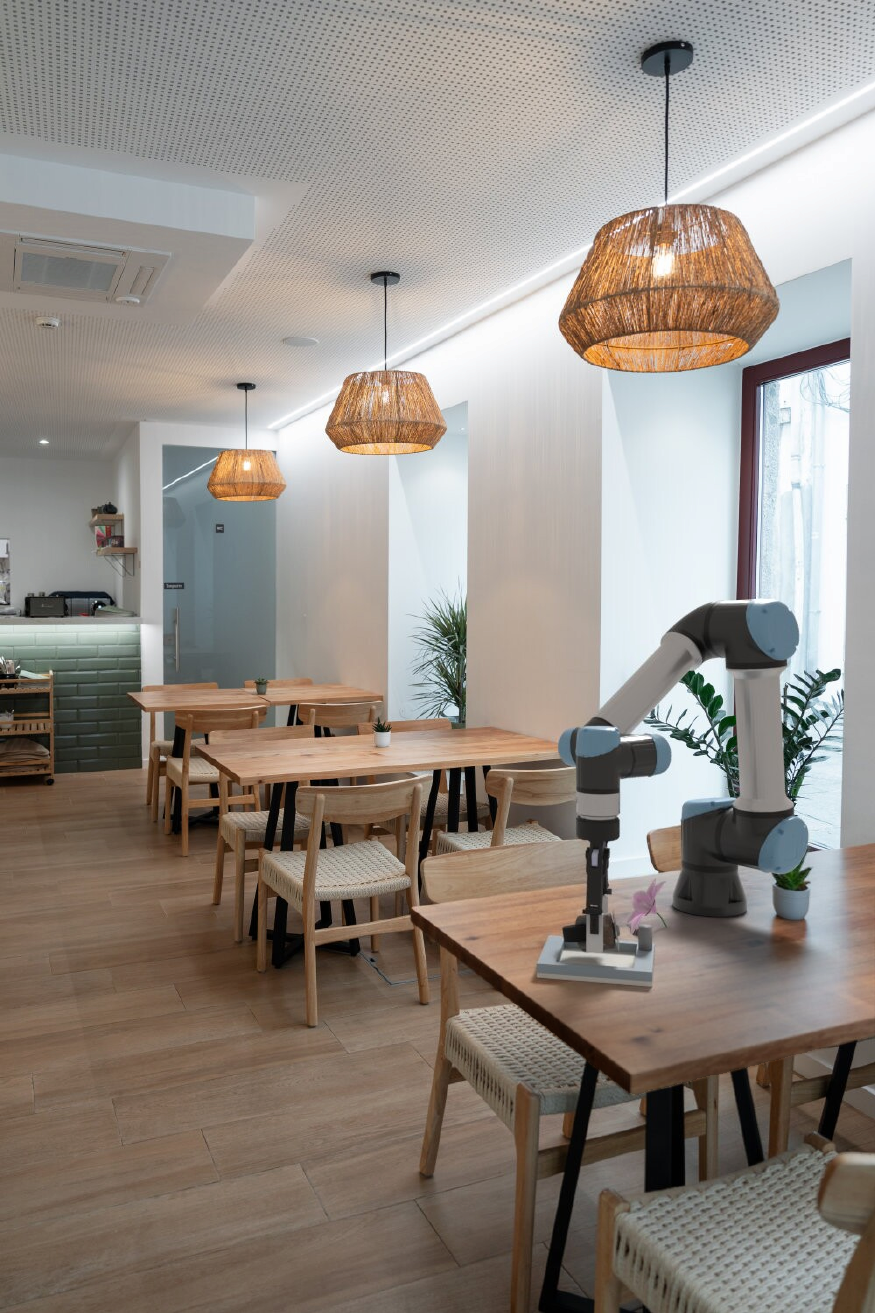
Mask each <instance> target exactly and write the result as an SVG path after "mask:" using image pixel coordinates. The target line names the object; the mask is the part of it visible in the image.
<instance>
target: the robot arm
mask: <svg viewBox="0 0 875 1313" xmlns="http://www.w3.org/2000/svg"><path fill="white" fill-rule="evenodd" d="M659 644H660V646H658V648H656V650H655V651H653V653H652V654H651V655H650V656H649V657H648V658H647V659H646V660H645V662H643V664H641V666H639V668H638V669H636V671H635V672H634V673H633V674H632V675H631V676H630V677H629V678H628V679H627V680H626V681H625V682H624V684H623V685H622V686H621V687H619V688H618V690H617V691H616V692H615V693H614V694H613V695H612V696H611V697H610V698H609V699H608V700H607V701H606V702H605V703H604V704H603V706H601V707H600V709H598V711H596V713H595V714H594V715H593V716H592V717H591V718H590V719H589V720H588V721H587V722H586V723H585V724H584V725H583V726H582V727H580V726H579V727H578V726H577V727H571V728H568V729H566V730H564V731H563V732H562V733H561V735H560V737H559V740H558V743H557V744H558V745H557V751H558V755H559V757H560V759H561V761H562V762H563V763H564V764H566V765H567V766H569V767H574V768H575V776H576V778H575V780H576V781H575V783H576V785H575V787H576V788H575V789H576V795H573V796H572V800H573V801H574V802H577V803H575V804H576V813H577V814H578V816H577V817H576V818H575V836H576V838H578V839H579V840H582V841H588V842H589V846H587V847H586V850H585V856H584V857H585V861H586V863H585V872H586V894H585V895H586V898H585V900H586V901H585V908H582V910H581V911H582V913H581V914H582V915H587V934H586V952H594V953H603V913H609V896H611V895H612V892H613V890H612V888H609V887H610V884H609V866H610V857H611V856H610V855H611V848H610V847H608V844H609V842H614V841H617V840H619V838H620V837H621V836H620V835H621V832H620V831H621V820H620V818H619V817H618V816H620V814H621V780H625V779H634V778H644V777H648V778H651V777H653V776H654V777H655V776H657V775H661V774H663V773H665V772H666V771H667V770H668V769H669V768H670V766H671V763H672V756H673V754H672V748H671V746H670V744H669V741H668V740H666V738H665V737H664V736H662V735H660V734H657V733H647V732H645V733H643V734H634V733H633V732H634V731H635V730H636V728H638V726H639V725H640V724H641V723H642V722H643V721H644V720H645V719H646V718H647V716H648V715H650V714H651V713H652V711H653V710H655V708H656V707H657V706H658V705H659V704H660V703H661V701H662V700H663V699H664V698H666V696H667V695H668V694H669V693H670V692H671V691H672V690H673V688H674V687H676V685H677V684H678V683H679V682H680V681H681V680H682V679H683V677H684V676H686V674H687V673H688V672H689V671H691V672H692V671H696V670H698V669H699V668H700V667H701V665H703V663H706V662H707V661H709V660H712V659H717V658H718V659H719V658H720V659H724V661H725V670H726V671H727V672H728V673H729V674H730V675H731V676H732V677H733V678H734V679H733V681H734V699H735V700H734V701H735V702H734V703H735V718H736V719H735V720H736V739H737V740H736V742H737V756H738V757H737V758H738V780H739V781H738V783H739V796H738V797H737V798H735V797H729V796H728V797H727V796H725V797H724V796H722V797H705V798H695V799H690V800H687V801H685V802H684V804H683V805H682V807H681V818H680V852H681V853H680V856H681V857H680V858H681V864H680V865H681V866H680V869H681V870H680V873H679V874H678V875H679V876H678V878H677V881H676V883H675V884H676V885H675V887H674V890H673V894H672V906H673V908H675V909H676V910H678V911H680V912H684V913H686V914H691V915H696V916H703V917H717V918H718V917H721V918H723V917H735V916H738V915H743V914H744V913H746V912H747V909H748V901H747V896H746V893H745V888H744V886H743V883H742V879H741V877H740V874H739V867H740V866H741V867H744V868H749V869H753V870H757V871H761V872H762V873H767V874H769V873H772V874H777V875H784V874H789V873H790V872H792V871H793V870H795V869H797V867H798V866H799V865H800V863H801V861H802V860H803V858H804V856H805V854H806V852H807V849H808V845H809V828H808V825H806V823H805V820H803V819H802V818H801V817H799V816H798V815H797V816H796V815H795V804H794V802H793V801H792V800H791V799H790V798H789V797H788V796H787V795H786V785H785V784H786V782H785V779H786V778H785V765H784V764H785V761H784V759H785V758H784V740H783V738H784V737H783V721H782V719H783V717H782V715H783V714H782V699H781V698H782V696H781V695H782V694H781V678H780V677H781V675H782V673H783V672H784V671H786V669H787V668H788V659H790V658H791V657H793V656H794V655H795V653H796V652H797V650H798V649H797V647H798V646H799V644H800V629H799V624H798V621H797V619H796V616H795V614H794V613H793V611H792V610H791V609H790V608H789V606H788V605H786V603H784V602H782V601H780V600H777V599H767V598H756V599H755V598H754V599H739V600H734V599H733V600H715V601H714V600H713V601H711V602H710V601H709V602H707V603H705V604H702V605H700V606H698V607H696V608H695V609H693V610H691V611H690V612H688V613H687V614H685V615H684V616H682V617H681V618H680V619H679V620H678V621H677V622H675V624H673V625H672V626H671V627H670V628H669V629H668V630H667V631H666V632H665V633H664V634H663V635H662V637H661V639H660V643H659ZM771 857H772V858H771Z"/></svg>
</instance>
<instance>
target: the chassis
mask: <svg viewBox="0 0 875 1313" xmlns="http://www.w3.org/2000/svg"><path fill="white" fill-rule="evenodd" d="M637 928H638V929H637V930H638V932H637V933H638V935H637V936H638V939H637V941H635V940H634V941H633V940H624V939H623V940H622V939H621V940H619V939H618V940H619V947H620V949H619V952H618V946H617V940H616V939H615V940H616V949H615V950H607V951H603V953H594V952H588V953H586V952H583V951H582V950H581V949H580V947H579V945H578V943H577V942H564V938H563V935H550V934H549V935H548V937H547V939H546V942H545V944H544V946H543V948H542V950H541V952H540V955H539V957H538V959H537V962H536V978H539V979H540V978H541V979H551V980H563V981H565V980H566V981H575V982H577V981H578V982H589V983H599V984H600V983H601V984H613V985H624V986H637V987H650V988H652V987H653V983H654V982H653V980H654V966H655V952H656V951H655V942H653V926H652V925H651V924H638V926H637Z"/></svg>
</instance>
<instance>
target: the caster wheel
mask: <svg viewBox="0 0 875 1313" xmlns="http://www.w3.org/2000/svg"><path fill="white" fill-rule="evenodd" d="M586 934H587V914H582V915H578V916H577V917H576V918H575V923H574V924H570V925H569V924H568V925H565V926H562V936H563V938H564V942H577V943H578V945H579V947H580V949H581V950H582V951H583V952H586ZM620 935H621V929H620V926H619V924H617V921H616V914H615V909H613V910H612V914H611V912H608V913H603V951H607V950H615V949H616V940H617V946H618V952H619V949H620V947H619V937H620ZM586 953H588V952H586Z"/></svg>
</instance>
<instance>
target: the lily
mask: <svg viewBox="0 0 875 1313" xmlns="http://www.w3.org/2000/svg"><path fill="white" fill-rule="evenodd" d="M656 882H657V878H656V877H655V878H654V879H653V880H652V882H651V883H650V885H649V886H648V888H647V889H646V891H644V890H639V891H635V892H634V893H632V895H631V906H632V908H633V909H634V910H633V912H632V913H631V914H630V916H629V917H628V919H627V920H626V922H625V925H628V924H630V923H631V924H630V928H631V929H630V934H632V935H633V934H634V932H635V931H636V928H638V926H639V925H640V922H641V920H642V919H643V918H644V917H645V916H653V915H654V916H655V915H657V916H658V917H659V918H660V919H661V921H662V923H663V924H664V927H665V928H668V925H667V923H666V922H665V920H664V919H663V917H662V915H660V913H659V912H658V910H657V905H656V904H657V903H656V897H657V896H658V894H659V892H660V891H661V890H662V889H663V887H664V886H665V884H666V882H667V881H666V880H664V881H661V882H658V883H657V884H656Z"/></svg>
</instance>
